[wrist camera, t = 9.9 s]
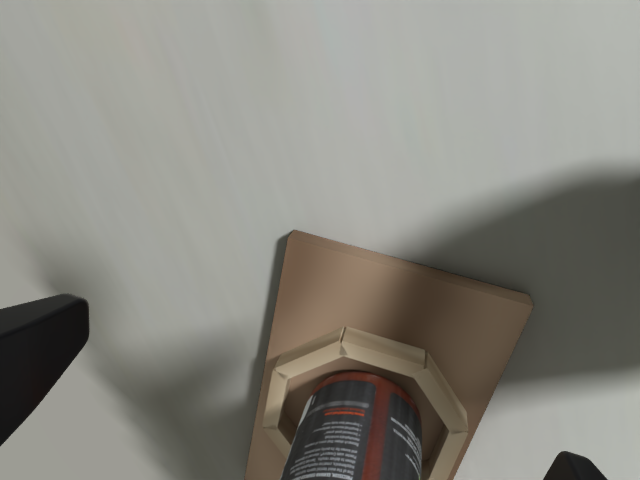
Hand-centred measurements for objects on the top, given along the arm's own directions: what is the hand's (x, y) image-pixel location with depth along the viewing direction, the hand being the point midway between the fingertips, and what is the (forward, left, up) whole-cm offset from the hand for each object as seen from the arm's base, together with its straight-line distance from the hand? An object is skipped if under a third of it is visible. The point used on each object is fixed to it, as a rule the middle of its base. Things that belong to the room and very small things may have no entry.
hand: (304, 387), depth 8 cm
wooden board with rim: (-2, +11, -13) cm, 17 cm away
